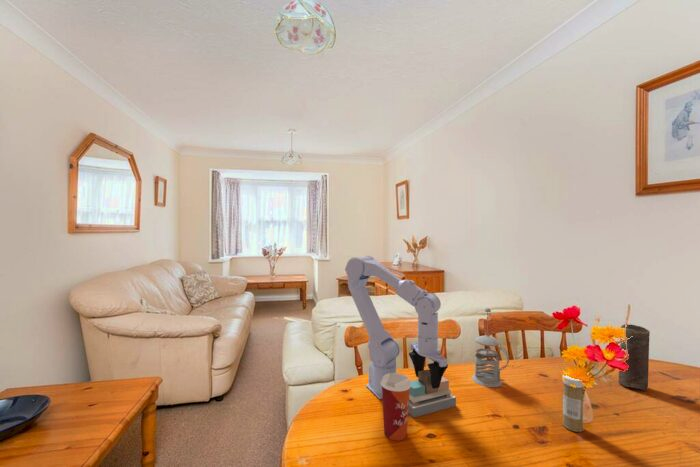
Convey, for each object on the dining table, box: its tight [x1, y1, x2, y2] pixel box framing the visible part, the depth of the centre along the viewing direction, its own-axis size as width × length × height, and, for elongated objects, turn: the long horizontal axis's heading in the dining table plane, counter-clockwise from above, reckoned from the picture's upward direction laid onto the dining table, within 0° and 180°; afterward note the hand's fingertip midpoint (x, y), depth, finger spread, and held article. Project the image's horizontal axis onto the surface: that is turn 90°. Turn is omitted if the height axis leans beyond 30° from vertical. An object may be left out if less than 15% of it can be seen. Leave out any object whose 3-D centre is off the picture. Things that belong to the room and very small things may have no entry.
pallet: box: [409, 368, 452, 405], centre depth 95 cm, size 5×13×7 cm, turn 114°
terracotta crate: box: [437, 375, 450, 391], centre depth 96 cm, size 4×4×2 cm
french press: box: [471, 307, 510, 388], centre depth 110 cm, size 10×12×25 cm
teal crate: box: [410, 379, 425, 397], centre depth 93 cm, size 4×4×2 cm
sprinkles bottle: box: [562, 375, 585, 433], centre depth 84 cm, size 5×5×14 cm
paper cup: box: [381, 372, 411, 442], centre depth 81 cm, size 8×8×14 cm
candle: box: [618, 323, 650, 391], centre depth 107 cm, size 8×7×20 cm
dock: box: [408, 393, 457, 418], centre depth 95 cm, size 8×15×3 cm, turn 114°
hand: (427, 381), depth 95 cm, fingers open, 7 cm apart
